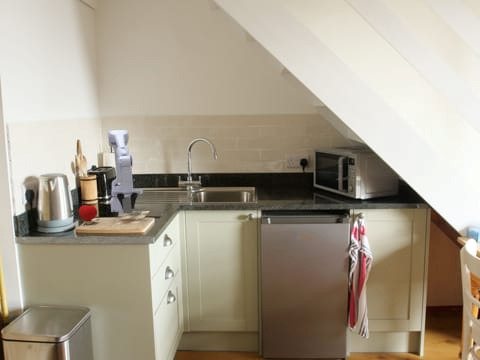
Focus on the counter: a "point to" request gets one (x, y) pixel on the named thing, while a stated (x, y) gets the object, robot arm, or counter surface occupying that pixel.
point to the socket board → (131, 217)
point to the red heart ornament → (88, 213)
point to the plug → (127, 205)
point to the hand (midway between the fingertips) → (128, 208)
